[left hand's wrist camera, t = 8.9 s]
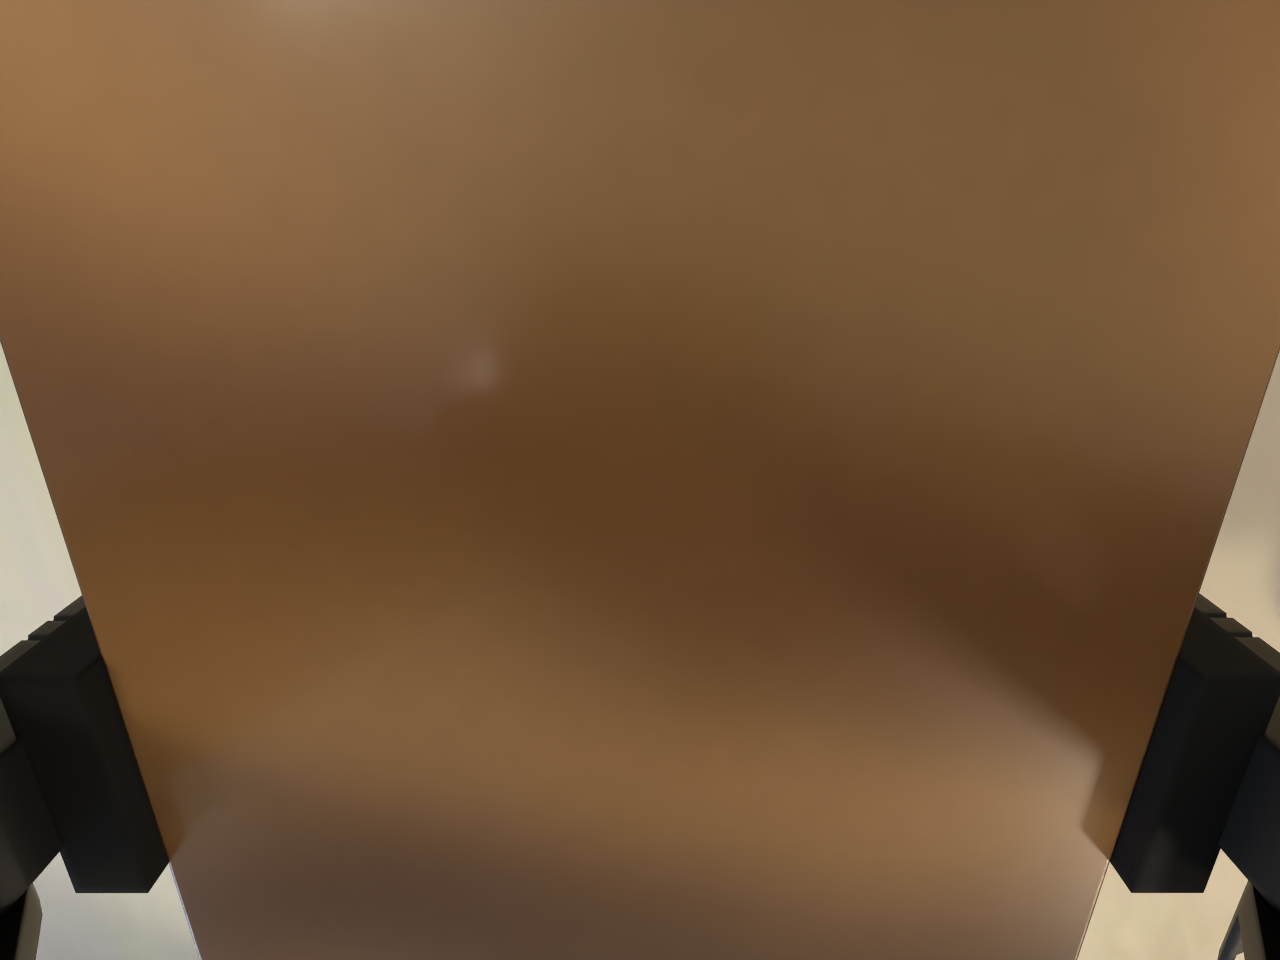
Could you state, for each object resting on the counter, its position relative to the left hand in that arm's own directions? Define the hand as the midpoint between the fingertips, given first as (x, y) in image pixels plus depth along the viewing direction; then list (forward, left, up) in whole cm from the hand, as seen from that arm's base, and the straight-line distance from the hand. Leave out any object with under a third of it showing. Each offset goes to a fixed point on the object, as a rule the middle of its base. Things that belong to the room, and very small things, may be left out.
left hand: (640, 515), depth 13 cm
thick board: (+14, -16, -1) cm, 21 cm away
